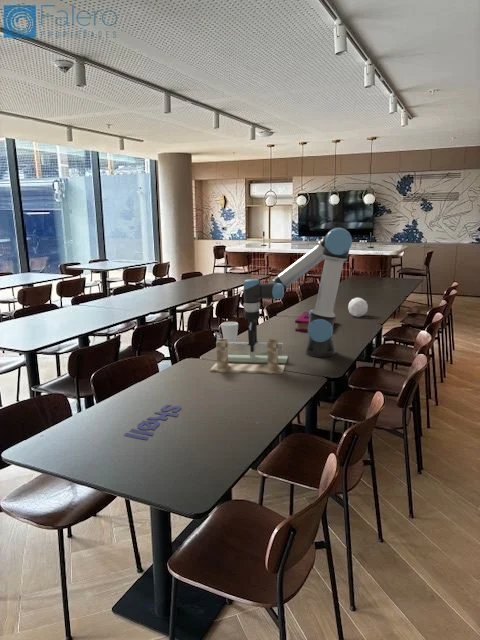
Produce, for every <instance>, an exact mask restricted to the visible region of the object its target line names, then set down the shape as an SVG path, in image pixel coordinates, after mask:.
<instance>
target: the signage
mask: <svg viewBox="0 0 480 640" xmlns="http://www.w3.org/2000/svg"><path fill="white" fill-rule="evenodd" d="M181 410H182V406H181V405H174V406H172V405H171V404H166V405H164V406H162V407H161V408H160V411H156V412H154V414H155V415H158V416H149V417H147V418H146V419H143V420H142V421H141V422H139V423H138V424H137V429H135V428H131V429H130V430H129V431H128V432H126V433H124V434H123V437H126V438H132V439H139V440H144V441H148V439H149V438H150V436H151V437H153V436H154V434H155V433H154V432H155V430H156V429H157V428H159V426H160V425H161V422H159V420H160V421H164V422H165V421H167V420H168V419H169V417H175V418H177V417H178V416H179V412H180V411H181ZM170 411H171V412H172V413H171V412H170ZM152 424H153V425H152ZM151 430H152V431H153V432H152V431H151ZM148 436H149V437H148Z"/></svg>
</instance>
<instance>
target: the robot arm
mask: <svg viewBox="0 0 480 640" xmlns="http://www.w3.org/2000/svg"><path fill="white" fill-rule="evenodd" d="M352 244H353V238H352V235H351V233H350V232H349V231H348V230H347V229H345V228H343V227H334V228H332V229H330V230H329V231H328V232H327V233H326V235H325V236H323V237H322V238H321V239H320V240H319V241H318V242H317V245H316V246H314V247H313V248H312V249H310V250H309V251H308V252H306V253H305V254H304V255H303V256H301V257H300V258H298V259H297V260H296V261H295V262H294V263H292V264H291V265H289V266H288V267H287V268H285V269H284V270H282V272H280V273H279V274H278V275H277V276H275V277H274V278H272V279H271V280H269V281H268V282H267V283H261V282H260V281H259V279H257V278H248V279H245V280H244V281H243V304H242V305H243V307H244V313H243V315H244V319H245V320H248V322H247V337H248V342H249V344H248V345H250V358H255V356H256V355H255V342H259V341H258V338H257V337H258V335H257V334H258V332H257V331H258V328H257V325H258V319H260V317H261V316H260V308H261V307H260V305H261V304H260V299H261V300H263V299H265V300H279V299H281V300H282V299H283V298H284V295H285V289H286V288H288V287H289V286H290V285H291V284H293V283H294V282H296V281H297V280H299V278H301V277H302V276H304V275H305V274H307V272H310V270H311V269H313V268H315V267H316V266H317V265H318V264H319V263H321V262H323V261H324V263H323V267H322V272H321V277H320V283H319V288H318V293H317V298H316V303H315V307H314V309H310V310H309V311H308V312H309V325H308V329H307V330H308V332H307V334H308V336H309V337H308V341H307V343H306V347H305V354H307V355H308V356H311V357H318V358H324V357H332V356H334V355H335V354H336V347H335V344H334V340H333V334H334V324H335V323H334V320H335V316H336V314H335V313H334V309H335V304H336V299H337V294H338V291H339V290H338V289H339V285H340V279H341V275H342V271H343V265H344V263H345V262H346V261H347V260H348V258H349V253H350V249H351V247H352ZM335 321H336V320H335Z"/></svg>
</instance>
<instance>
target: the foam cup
mask: <svg viewBox="0 0 480 640" xmlns="http://www.w3.org/2000/svg"><path fill="white" fill-rule="evenodd" d="M220 326H221V332H222V338H228V342H238V341H237V340H238V330H239V323H238V322H237V321H224V322H222V323H221V324H220Z"/></svg>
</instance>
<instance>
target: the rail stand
mask: <svg viewBox="0 0 480 640" xmlns="http://www.w3.org/2000/svg"><path fill="white" fill-rule="evenodd" d="M278 343H279V342H278V339H277V338H269V339H268V341H267V354H268V363H267V364H265V363H260V364H259V363H258V364H257V363H254V364H253V363H249V364H248V363H229V362H228V338H223V337H222V338H220V337H219V338H218V341H216V342H215V350H216V362H215V363H214V364H213V365H212V367H211V368H210V369H209V371H210V373H239V374H240V373H241V374H242V373H244V374H272V373H276V374H275V375H277V374H279V375H281V374H282V375H283V373H284V371H285V368H286V365H285V364H279V363H278Z"/></svg>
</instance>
